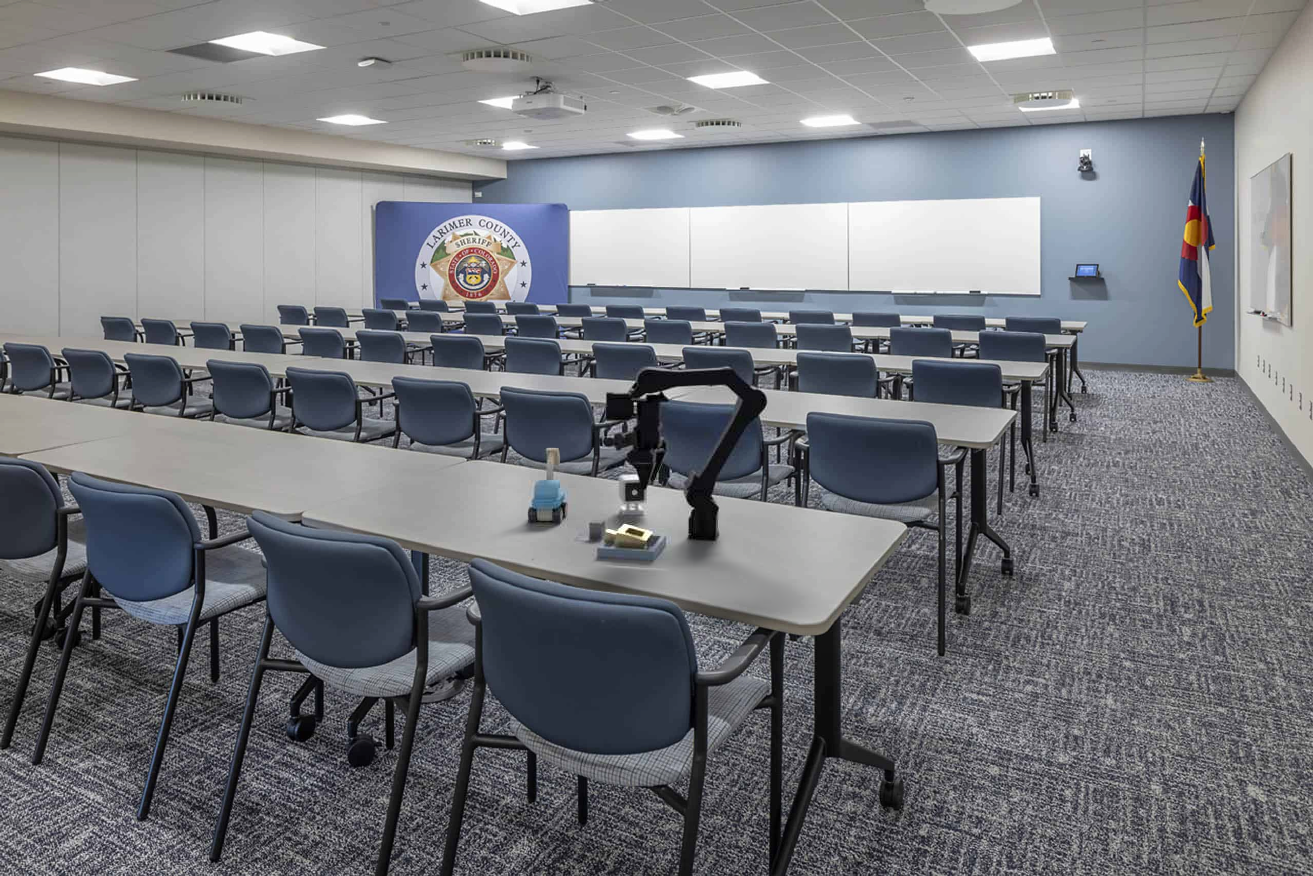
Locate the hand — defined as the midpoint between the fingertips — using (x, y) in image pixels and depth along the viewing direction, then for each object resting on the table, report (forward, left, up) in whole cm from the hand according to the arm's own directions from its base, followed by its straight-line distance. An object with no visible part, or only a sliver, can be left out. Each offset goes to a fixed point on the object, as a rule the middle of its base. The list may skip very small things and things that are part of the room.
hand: (648, 484), depth 222 cm
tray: (+1, +12, -13) cm, 18 cm away
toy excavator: (+29, -12, -13) cm, 34 cm away
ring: (+3, +12, -11) cm, 17 cm away
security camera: (+9, -20, -13) cm, 26 cm away
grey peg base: (+12, +3, -13) cm, 18 cm away
